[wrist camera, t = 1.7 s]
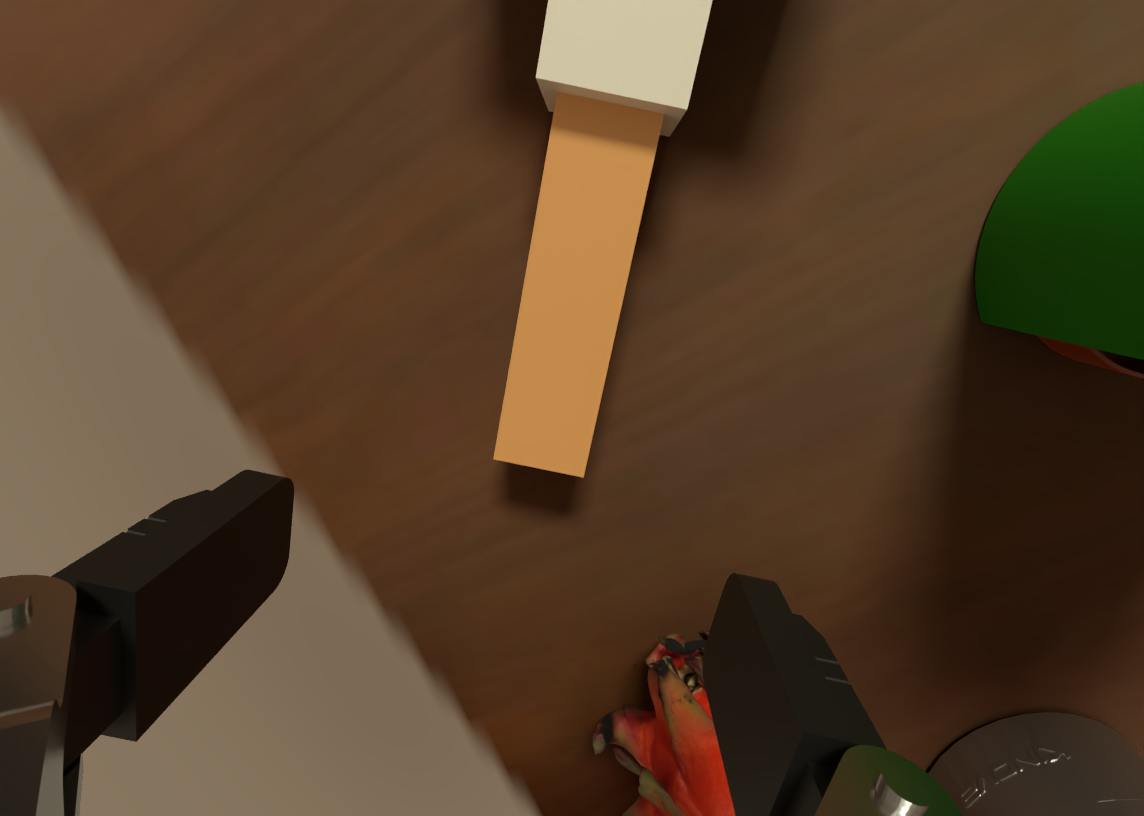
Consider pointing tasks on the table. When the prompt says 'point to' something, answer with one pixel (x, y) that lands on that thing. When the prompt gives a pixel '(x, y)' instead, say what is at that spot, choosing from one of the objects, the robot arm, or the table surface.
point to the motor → (1074, 238)
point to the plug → (590, 209)
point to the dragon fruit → (671, 738)
